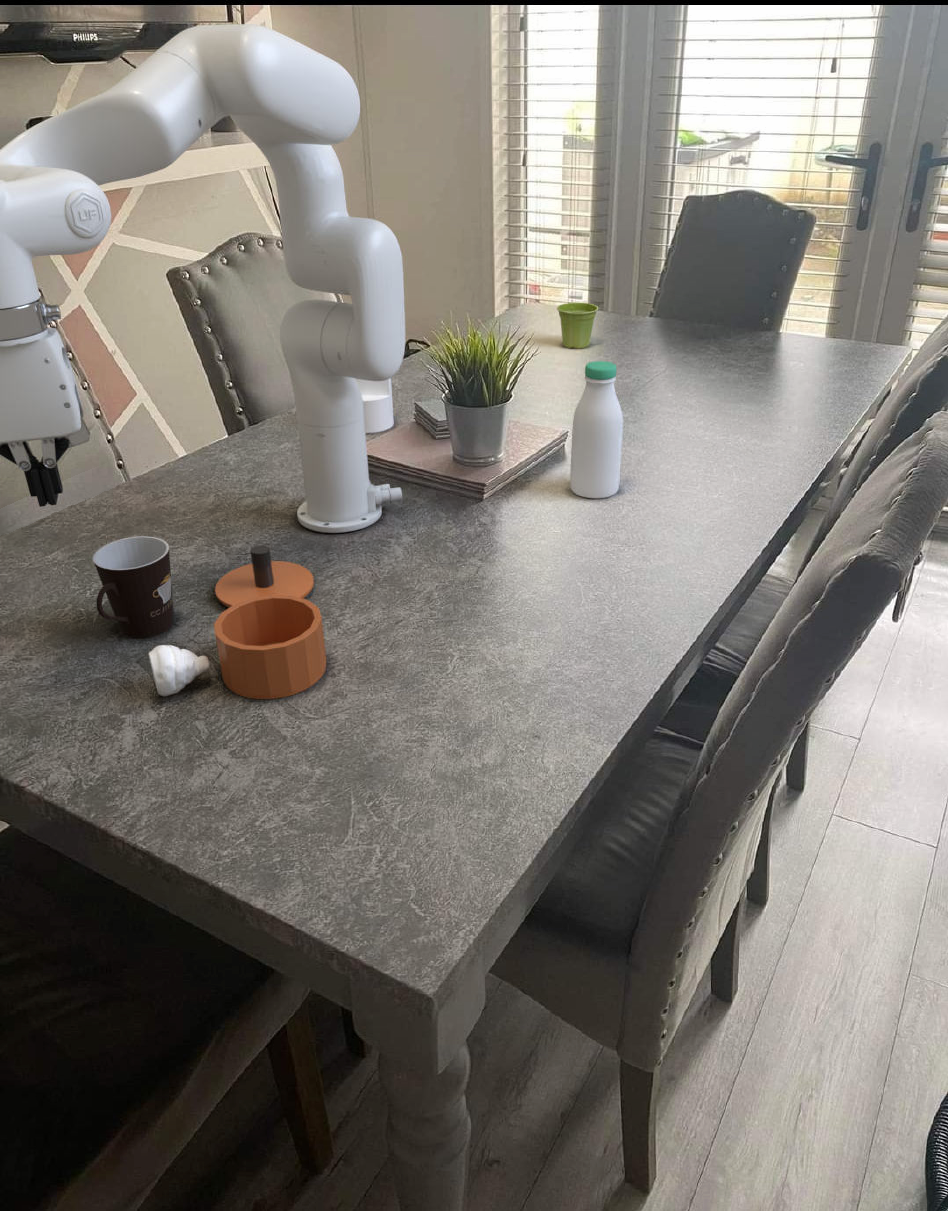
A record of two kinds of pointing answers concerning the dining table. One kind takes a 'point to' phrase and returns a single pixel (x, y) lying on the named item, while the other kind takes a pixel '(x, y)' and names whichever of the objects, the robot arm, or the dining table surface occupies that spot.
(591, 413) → the milk bottle
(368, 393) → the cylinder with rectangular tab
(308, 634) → the pot
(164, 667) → the white whipped cream swirl
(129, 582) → the coffee mug
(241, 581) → the pot lid
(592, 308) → the plant pot
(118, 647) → the dining table surface
